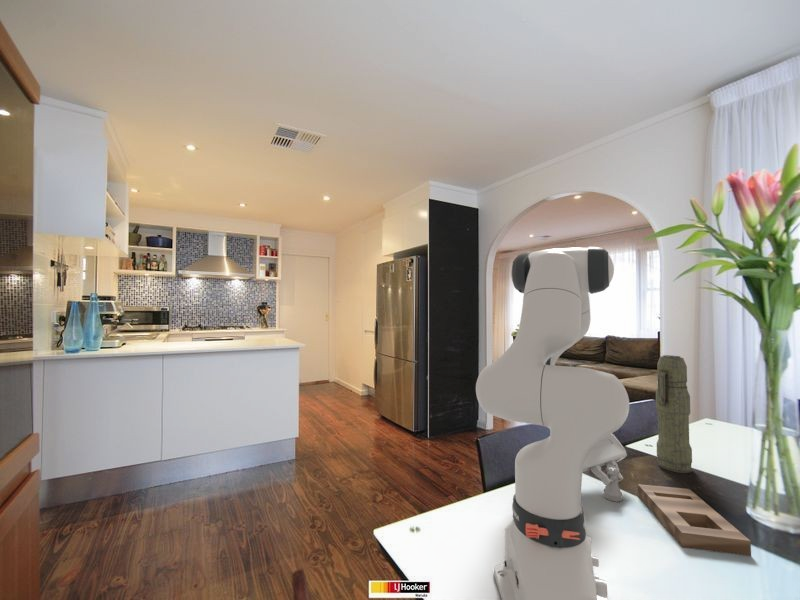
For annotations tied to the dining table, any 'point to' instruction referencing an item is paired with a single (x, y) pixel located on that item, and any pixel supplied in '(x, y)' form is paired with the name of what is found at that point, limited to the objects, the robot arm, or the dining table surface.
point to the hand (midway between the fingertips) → (614, 482)
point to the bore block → (693, 520)
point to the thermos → (673, 415)
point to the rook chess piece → (613, 485)
